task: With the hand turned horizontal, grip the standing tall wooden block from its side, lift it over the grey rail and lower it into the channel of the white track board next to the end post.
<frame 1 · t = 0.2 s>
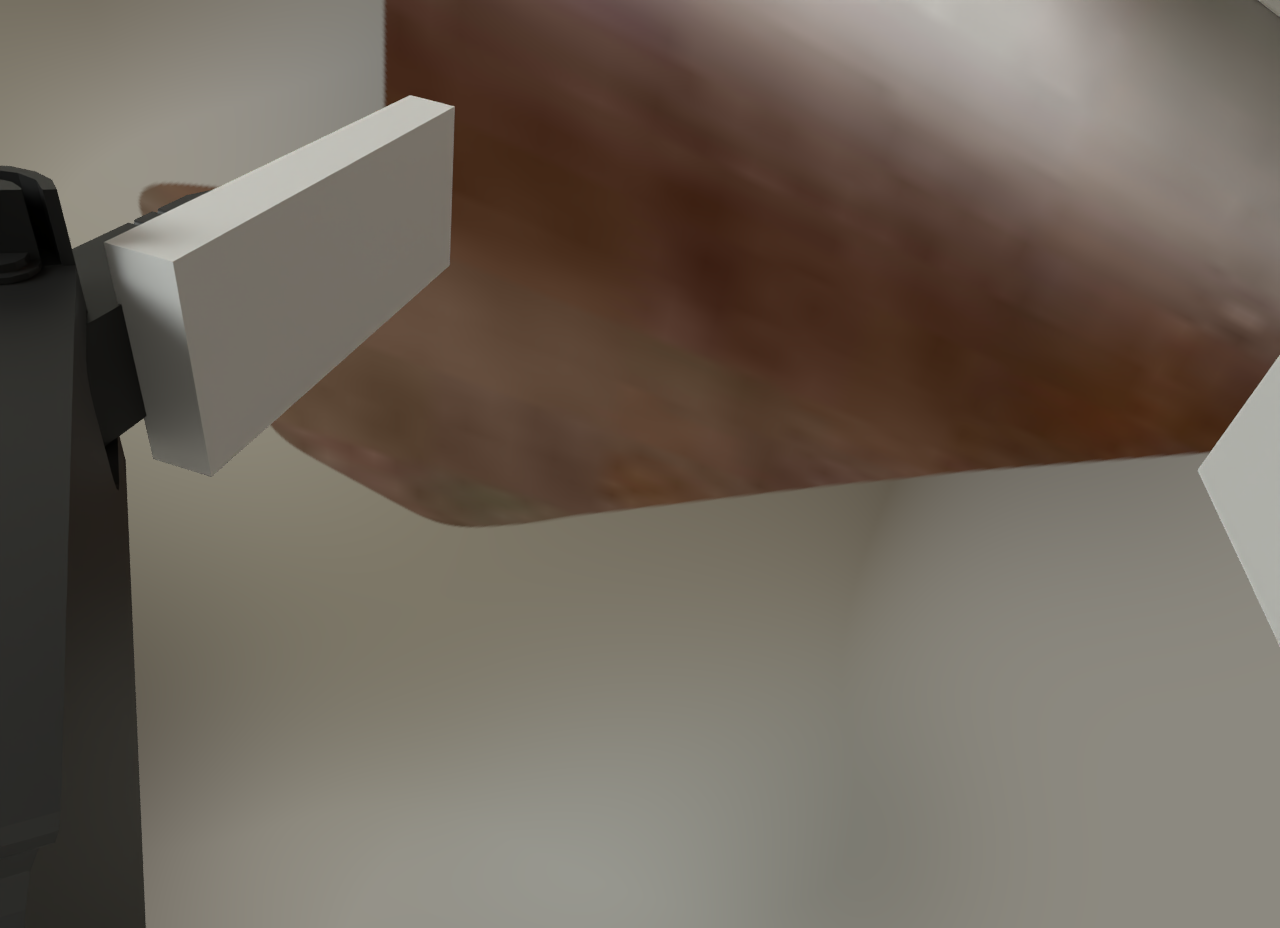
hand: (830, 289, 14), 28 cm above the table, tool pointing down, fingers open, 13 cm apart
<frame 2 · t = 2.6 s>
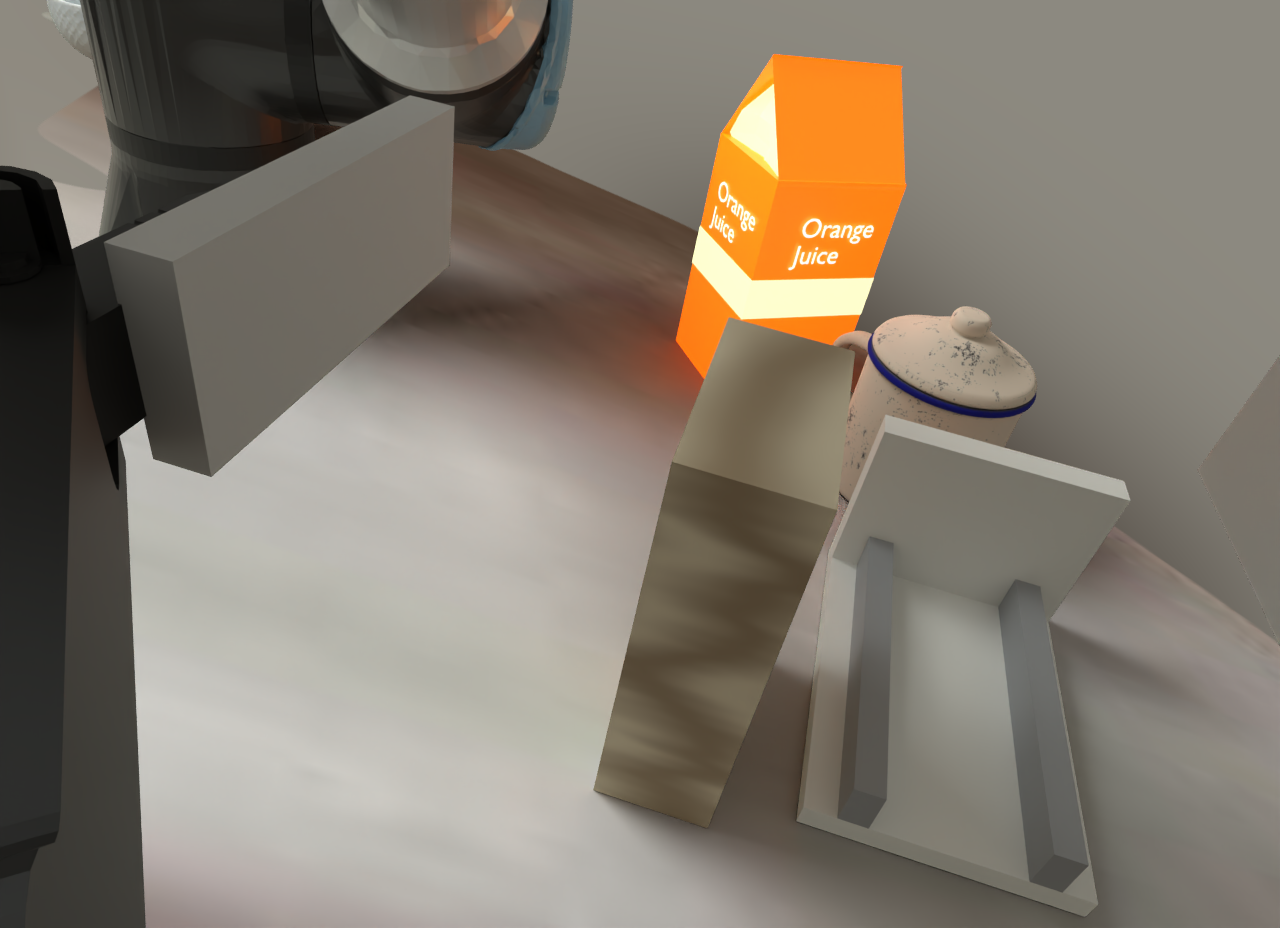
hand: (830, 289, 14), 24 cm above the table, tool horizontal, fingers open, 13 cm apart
orange juice: (751, 367, 60), on the table
teacup with lid: (877, 474, 52), on the table
tall wooden block: (675, 714, 36), on the table
cereal bowl: (161, 73, 87), on the table
track: (933, 702, 39), on the table
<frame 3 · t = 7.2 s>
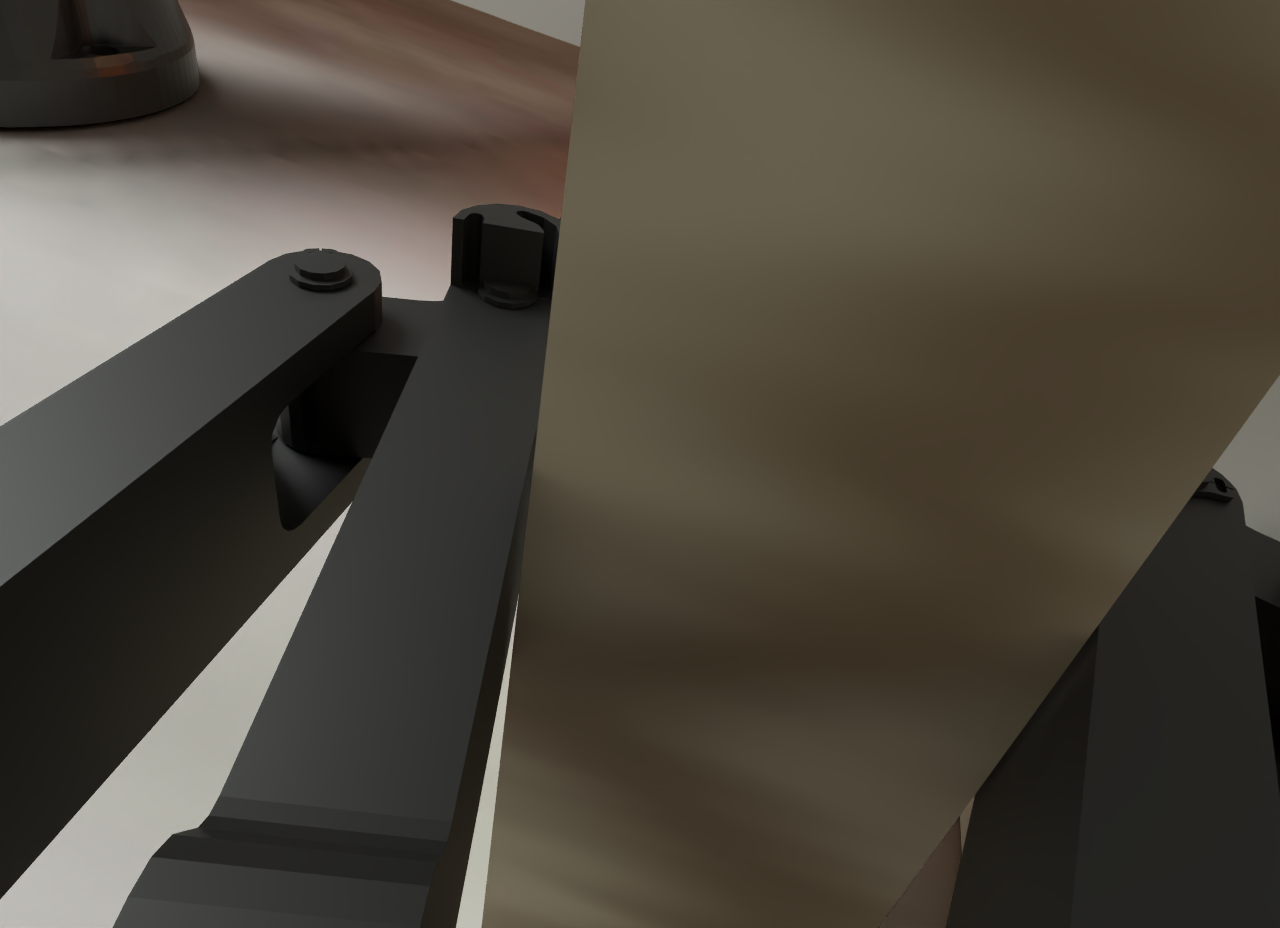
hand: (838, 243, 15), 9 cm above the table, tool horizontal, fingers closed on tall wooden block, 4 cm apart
tall wooden block: (678, 783, 16), on the table, touching gripper
track: (1195, 749, 19), on the table
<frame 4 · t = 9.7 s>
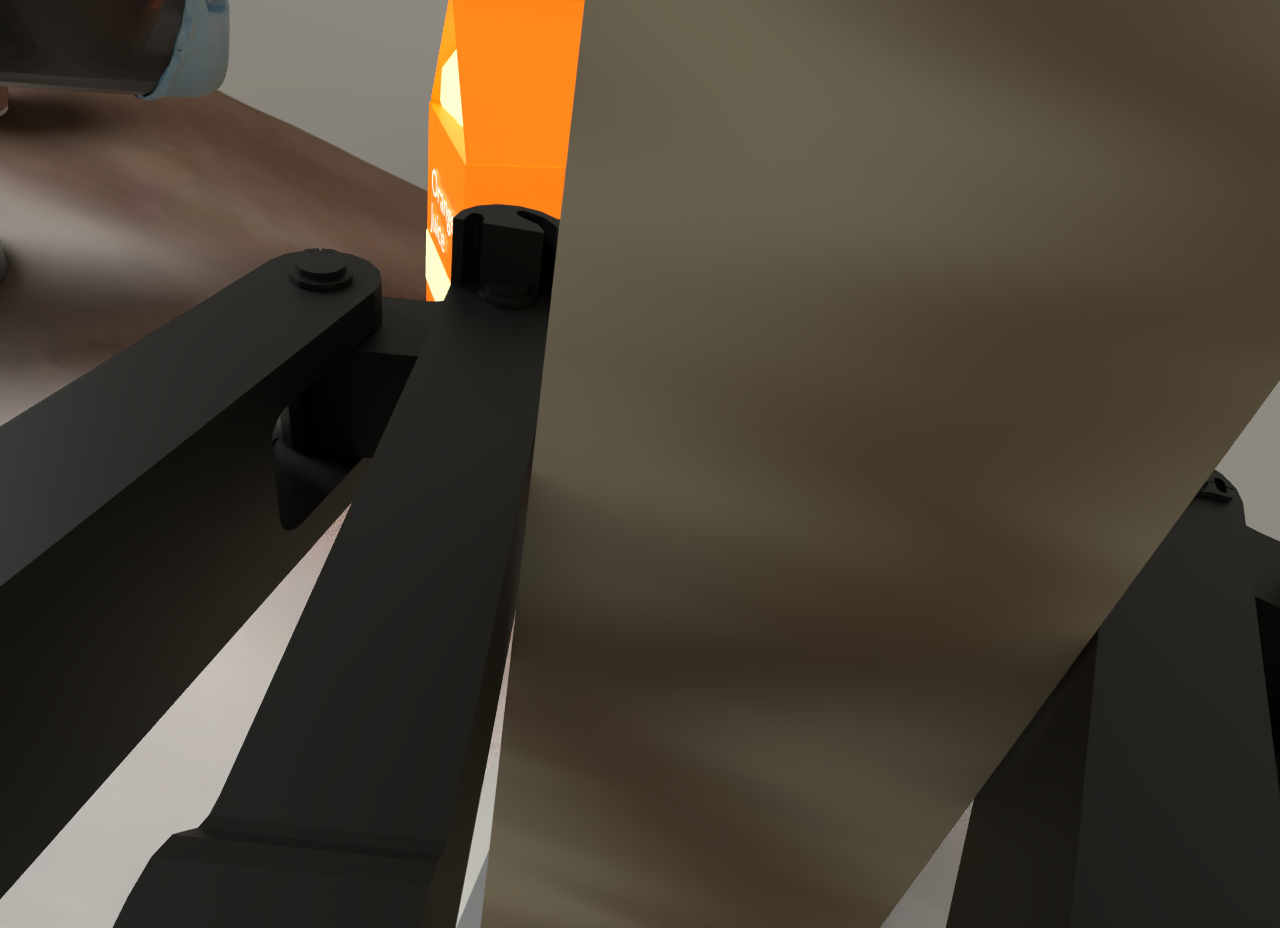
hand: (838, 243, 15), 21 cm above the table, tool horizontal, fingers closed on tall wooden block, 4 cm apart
orange juice: (519, 413, 46), on the table
tall wooden block: (677, 784, 16), point 12 cm above the table, touching gripper
when the fingers open (11 cm above the table, at t = 12.1 s): tall wooden block drops 1 cm, resting on track.
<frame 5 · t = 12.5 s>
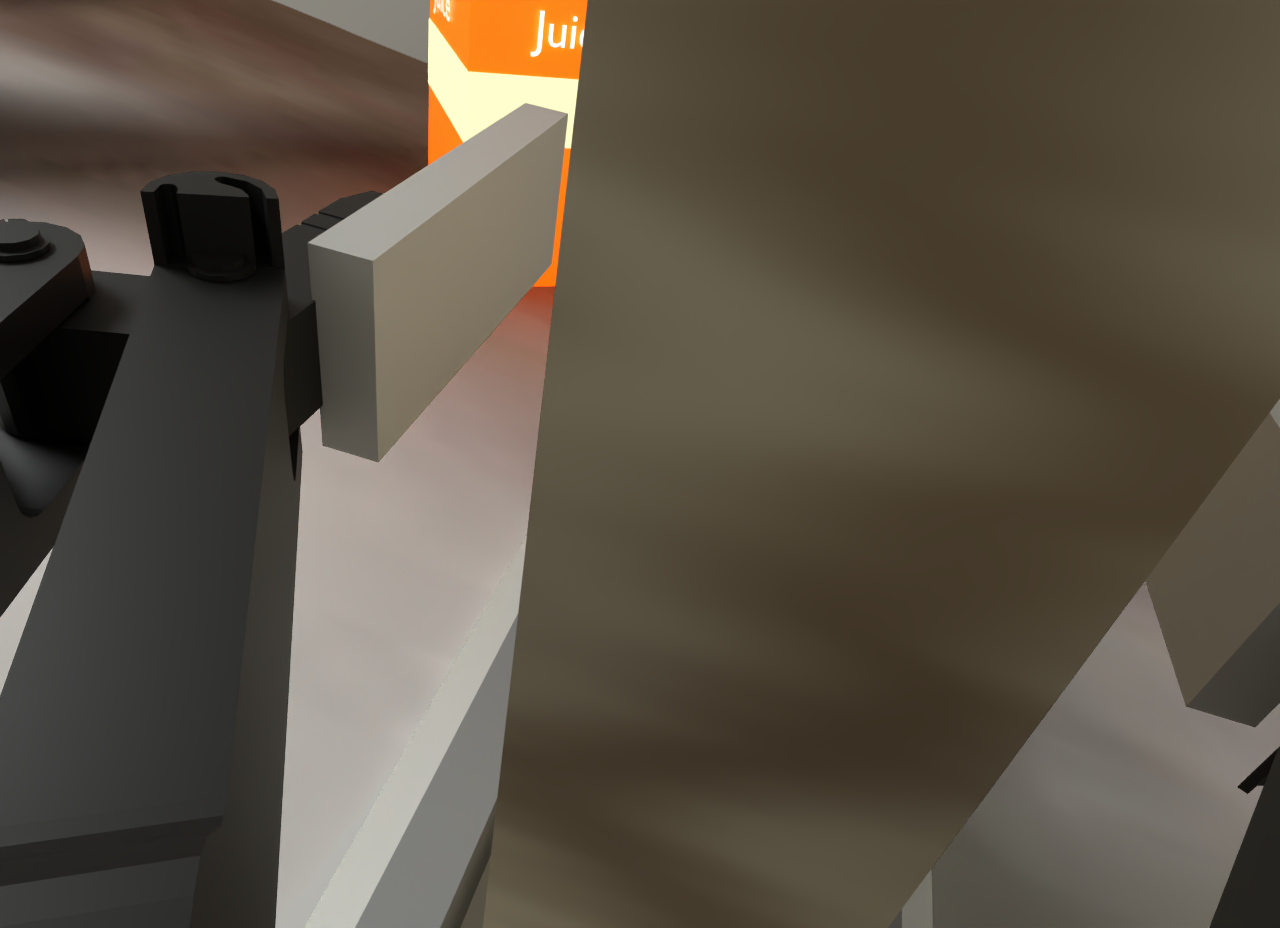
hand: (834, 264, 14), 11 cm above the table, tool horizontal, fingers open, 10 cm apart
orange juice: (535, 252, 40), on the table
tall wooden block: (665, 827, 17), point 1 cm above the table, touching track
track: (666, 804, 19), on the table
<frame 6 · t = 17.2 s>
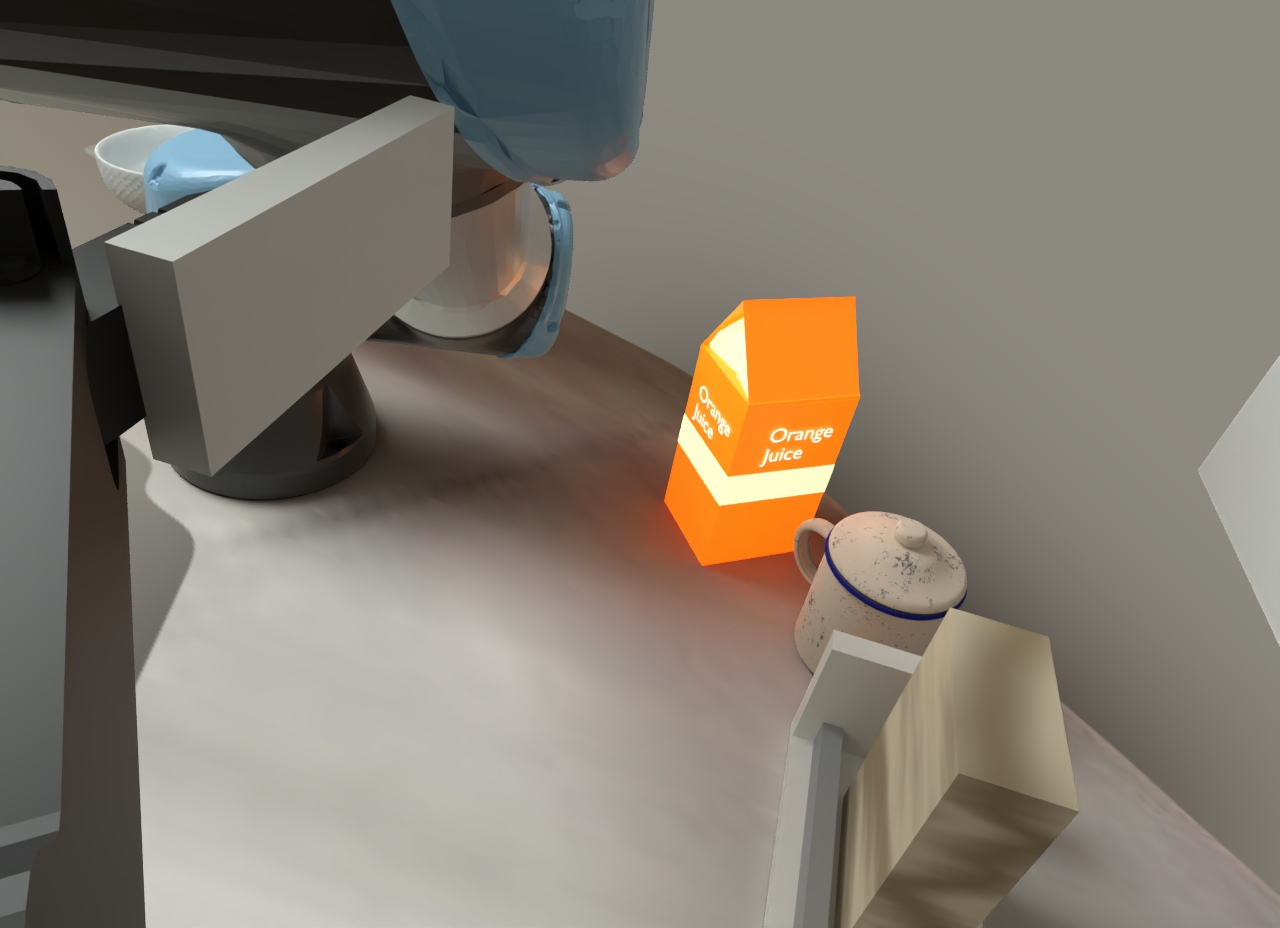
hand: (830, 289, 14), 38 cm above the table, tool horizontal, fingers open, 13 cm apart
orange juice: (730, 526, 68), on the table
teacup with lid: (837, 638, 60), on the table
tall wooden block: (879, 885, 45), point 1 cm above the table, touching track
cereal bowl: (197, 214, 95), on the table
track: (872, 874, 47), on the table
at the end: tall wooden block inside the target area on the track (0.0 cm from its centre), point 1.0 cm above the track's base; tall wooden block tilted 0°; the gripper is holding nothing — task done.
